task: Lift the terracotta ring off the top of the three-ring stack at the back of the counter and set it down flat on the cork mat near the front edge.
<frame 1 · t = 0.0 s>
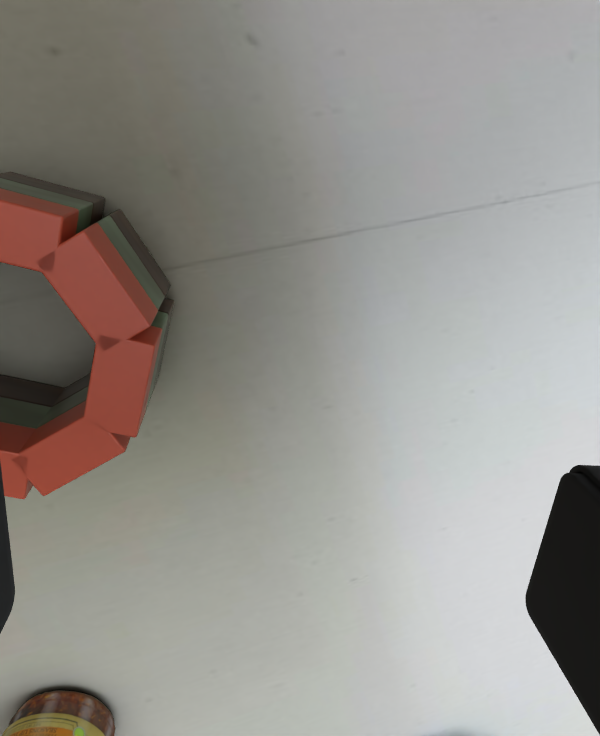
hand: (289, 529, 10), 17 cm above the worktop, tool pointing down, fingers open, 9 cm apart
terracotta ring: (7, 340, 22), point 4 cm above the worktop, touching ring stack
ring stack: (41, 310, 25), on the worktop
sauce bottle: (64, 717, 35), on the worktop
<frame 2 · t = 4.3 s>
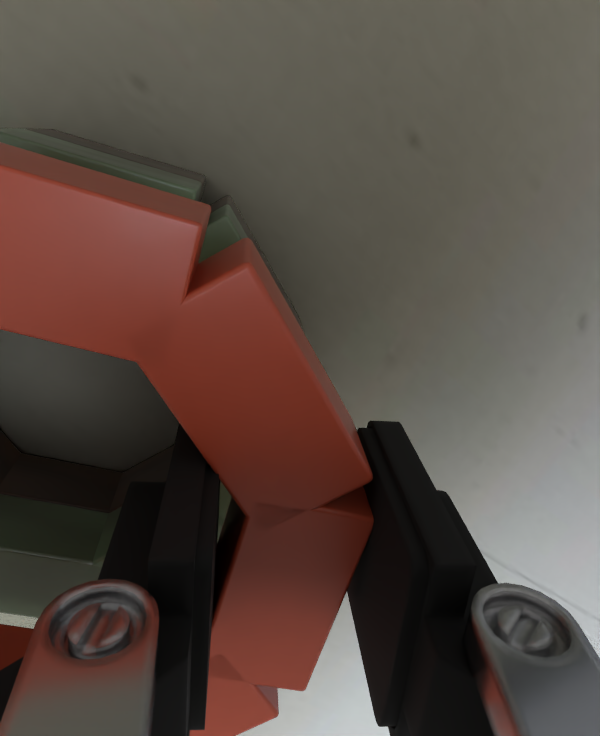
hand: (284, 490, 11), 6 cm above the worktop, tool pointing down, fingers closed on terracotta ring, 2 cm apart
terracotta ring: (34, 477, 10), point 6 cm above the worktop, touching gripper
ring stack: (92, 355, 16), on the worktop
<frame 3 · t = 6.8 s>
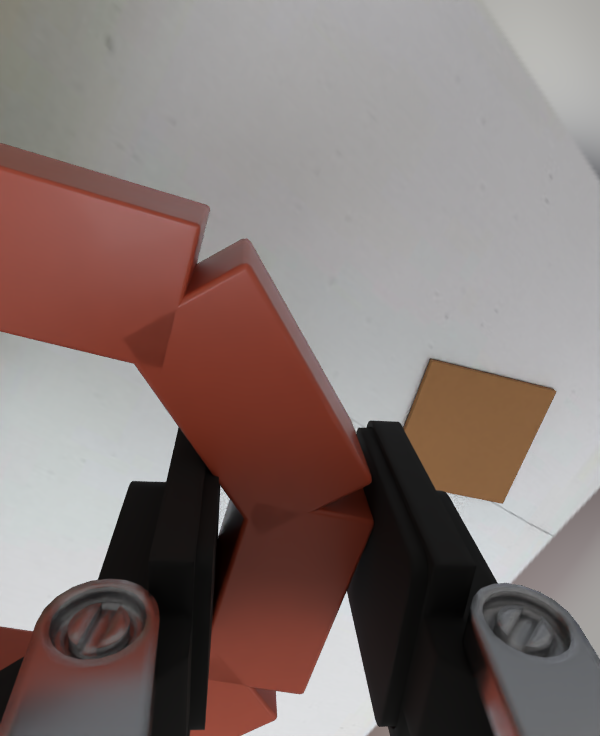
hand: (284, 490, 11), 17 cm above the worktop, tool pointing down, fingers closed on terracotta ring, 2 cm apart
cork mat: (467, 433, 30), on the worktop
terracotta ring: (31, 479, 10), point 17 cm above the worktop, touching gripper
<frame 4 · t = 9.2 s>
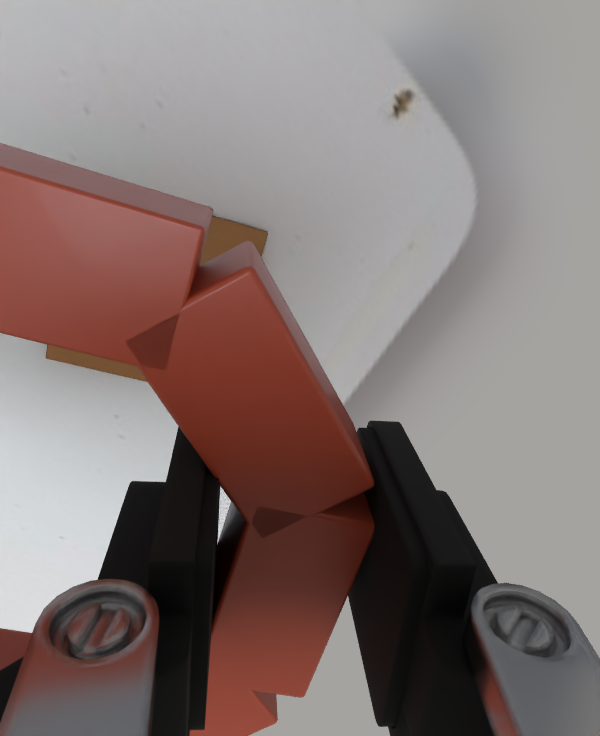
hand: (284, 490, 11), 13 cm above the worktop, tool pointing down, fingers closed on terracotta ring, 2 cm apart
cork mat: (154, 295, 22), on the worktop
terracotta ring: (32, 481, 10), point 13 cm above the worktop, touching gripper
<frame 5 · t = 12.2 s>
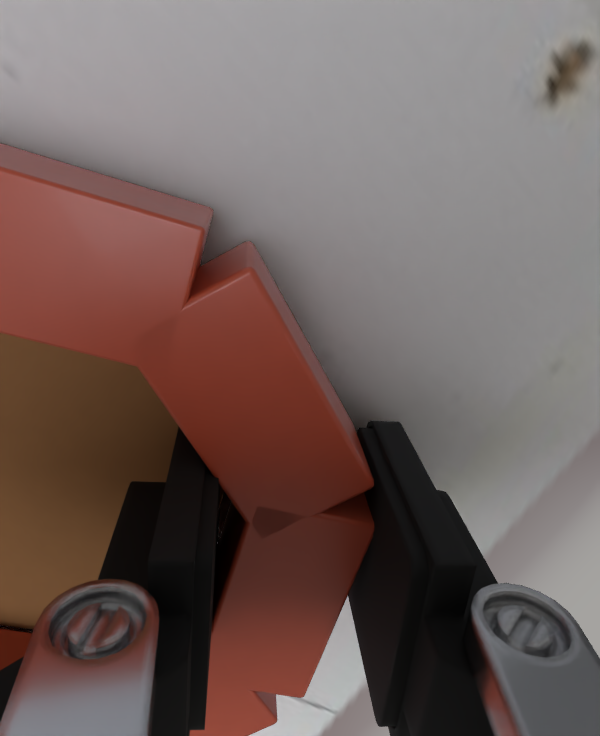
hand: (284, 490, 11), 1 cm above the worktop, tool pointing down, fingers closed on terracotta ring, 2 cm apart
cork mat: (32, 472, 11), on the worktop
terracotta ring: (32, 481, 10), resting on cork mat, touching gripper
when the fingers open (1 cm above the worktop, at t = 14.3 s): terracotta ring stays where it is, resting on cork mat.
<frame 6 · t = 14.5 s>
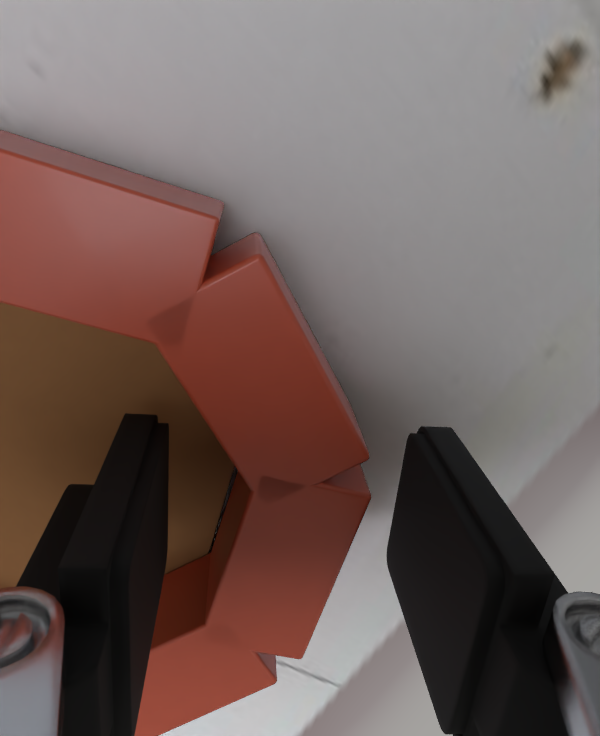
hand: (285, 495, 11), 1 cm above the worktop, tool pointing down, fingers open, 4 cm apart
cork mat: (52, 449, 11), on the worktop
terracotta ring: (51, 455, 11), resting on cork mat
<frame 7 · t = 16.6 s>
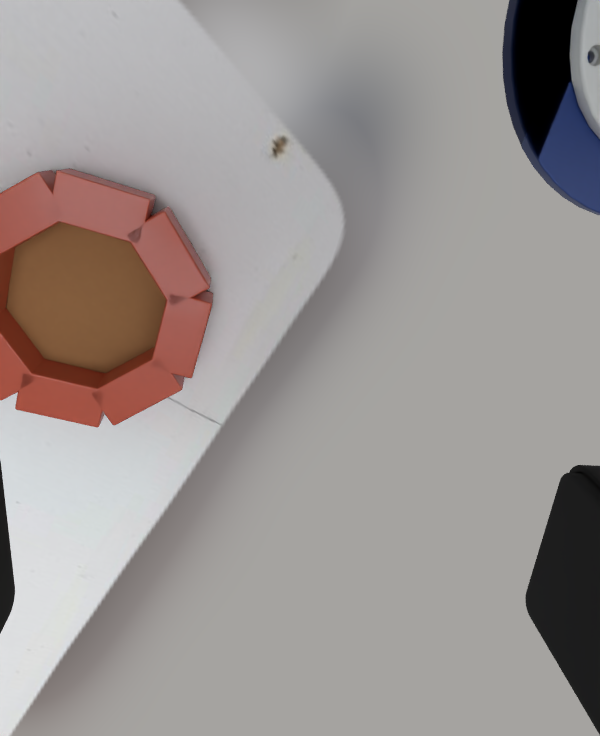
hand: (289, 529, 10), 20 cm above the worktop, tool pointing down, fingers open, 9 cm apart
cork mat: (89, 298, 27), on the worktop
terracotta ring: (89, 298, 27), resting on cork mat
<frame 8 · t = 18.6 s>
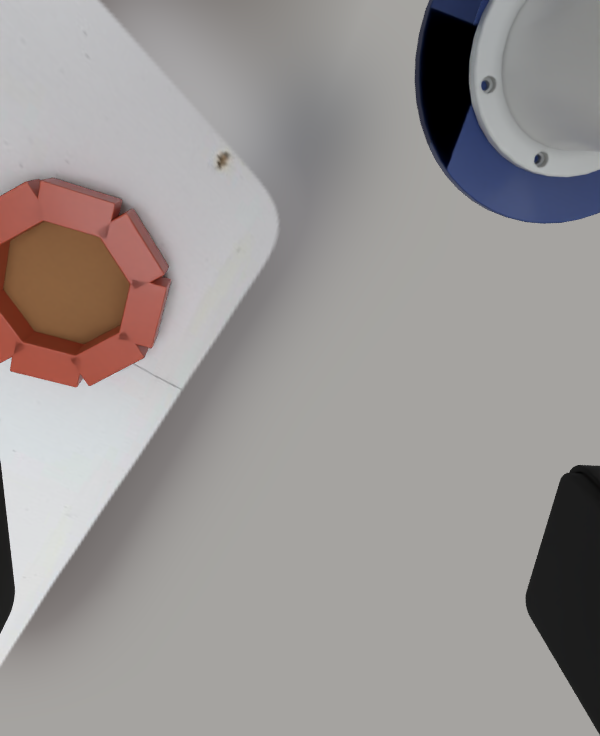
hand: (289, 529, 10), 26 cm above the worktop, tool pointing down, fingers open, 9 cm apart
cork mat: (70, 282, 34), on the worktop
terracotta ring: (70, 282, 33), resting on cork mat
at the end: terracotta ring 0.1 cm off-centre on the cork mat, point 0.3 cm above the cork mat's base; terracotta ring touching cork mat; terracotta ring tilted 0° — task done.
